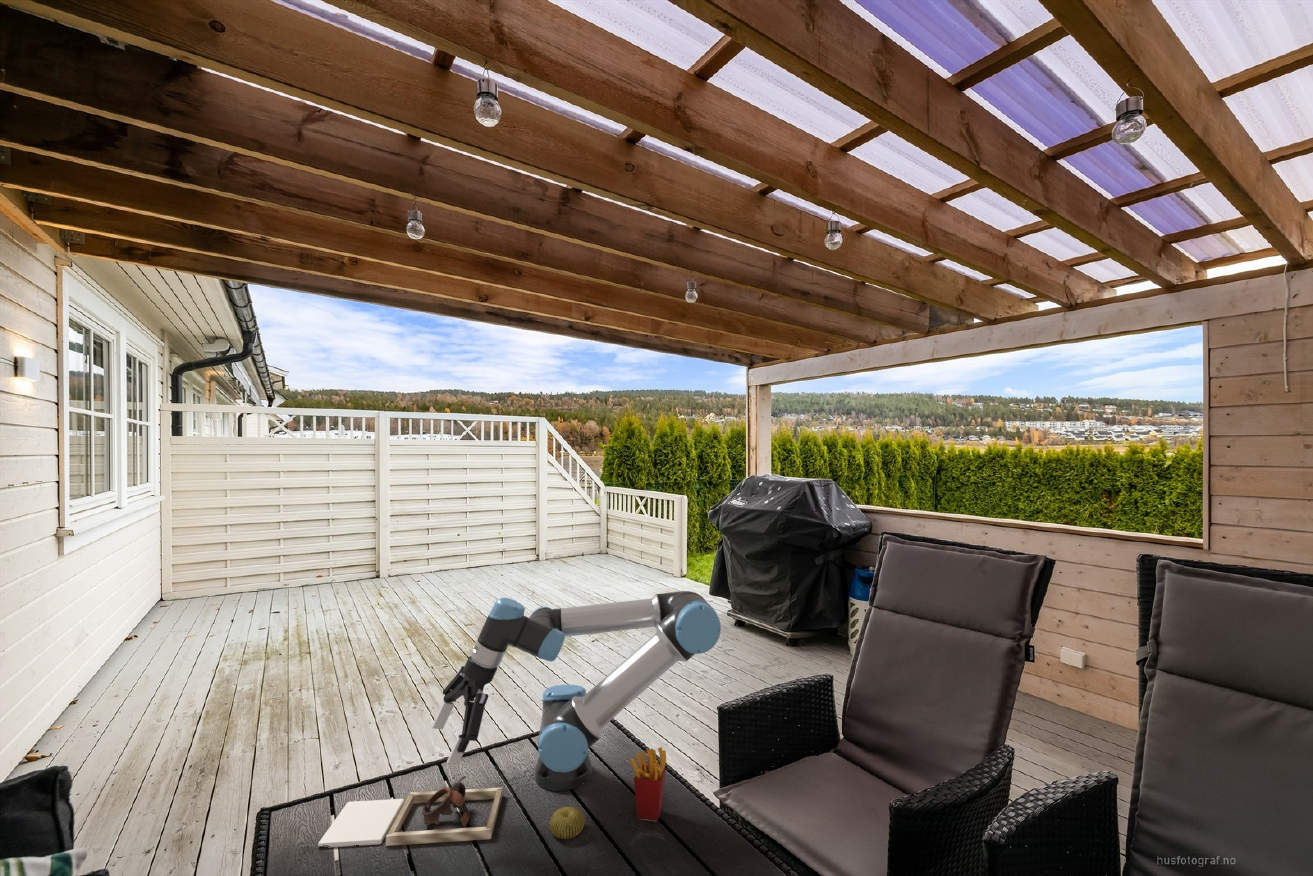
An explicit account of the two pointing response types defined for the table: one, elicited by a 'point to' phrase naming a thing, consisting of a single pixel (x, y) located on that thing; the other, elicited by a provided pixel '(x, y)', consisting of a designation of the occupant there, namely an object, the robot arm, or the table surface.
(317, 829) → the table surface
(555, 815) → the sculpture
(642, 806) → the french fries
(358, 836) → the ceramic tile
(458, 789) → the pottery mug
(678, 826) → the table surface
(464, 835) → the frame
